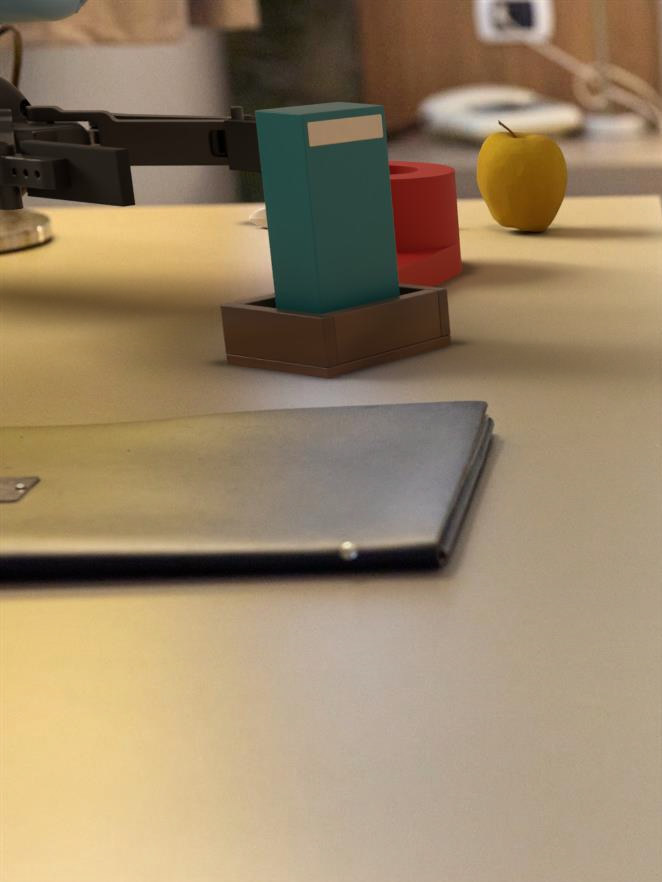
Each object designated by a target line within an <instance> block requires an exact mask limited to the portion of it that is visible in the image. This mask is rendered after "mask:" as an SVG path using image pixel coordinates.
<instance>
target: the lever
mask: <svg viewBox="0 0 662 882" xmlns="http://www.w3.org/2000/svg"><path fill="white" fill-rule="evenodd" d="M389 172H390V184H391V196H392V208H393V220H394V231H395V243H396V255H397V267H398V279H399V283H403V284H412V285H420V286H429V287H436V286H438V285H440V284H442V283H444V282H446V281H448V280H450V279H452V278H454V277H457V276H458V275H460V274H461V273H462V271H463V268H462V267H463V266H462V253H461V251H462V250H461V237H460V224H459V210H458V197H457V181H456V169H455V168H454V167H452V166H450V165H446V164H440V163H434V162H433V163H432V162H424V161H423V162H422V161H406V160H389Z"/></svg>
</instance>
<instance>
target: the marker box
mask: <svg viewBox="0 0 662 882" xmlns="http://www.w3.org/2000/svg"><path fill="white" fill-rule="evenodd" d="M254 116H256V125H257V134H258V143H259V153H260V162H261V171H262V173H261V179H262V181H261V182H262V189H263V198H264V207H265V208H266V218H267V227H268V228H267V235H268V245H269V254H270V255H269V256H270V262H271V274H272V281H273V282H272V283H273V290H274V293H275V301H276V308H277V309H284V310H292V311H300V312H308V313H316V314H324V313H329V312H333V311H337V310H341V309H346V308H350V307H354V306H358V305H363V304H367V303H371V302H375V301H380V300H384V299H388V298H392V297H397V296H400V290H399V279H398V267H397V255H396V243H395V231H394V220H393V208H392V196H391V184H390V172H389V161H390V160H389V150H388V149H389V148H388V139H387V138H388V137H387V125H386V113H385V106H384V105H382V104H371V103H358V102H346V101H334V102H325V103H315V104H305V105H294V106H285V107H276V108H267V109H266V108H265V109H256V110H255V111H254Z"/></svg>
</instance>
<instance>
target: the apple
mask: <svg viewBox="0 0 662 882" xmlns="http://www.w3.org/2000/svg"><path fill="white" fill-rule="evenodd" d="M497 122H498V125H499V126H501V127H502V128H504V129H505V130H506V131H497V132H494V133H492V134H490V135H489V136H488V137H487V138H486V139H485V140H484V142H483V143H482V145H481V147H480V150H479V152H478V157H477V164H476V183H477V186H478V189H479V192H480V194H481V196H482V198H483V200H484V202H485V204H486V206H487V209H488V211H489V213H490V215H491V217H492V219H493V220H494V221H495V222H496V223H498V225H500V226H501V227H503V228H511V229H516V230H519V231H524V232H525V231H526V232H533V233H539V232H545V231H547V230H548V228H549V226H550V225H552V223H553V222H554V221H555V218H556V216H557V214H558V212H559V211H560V208H561V206H562V204H563V202H564V199H565V195H566V192H567V187H568V167H567V162H566V158H565V156H564V153H563V151H562V149H561V147H560V146H559V145H558V143H557V142H556V140H554V139H553V138H551V137H550V136H548V135H545V134H536V133H527V132H517V131H516V132H515V131H513V130H512V129H510V128H509V127H508V126H507V125H505V124H504V123H503V122H501V121H500V120H499V119H497Z"/></svg>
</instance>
